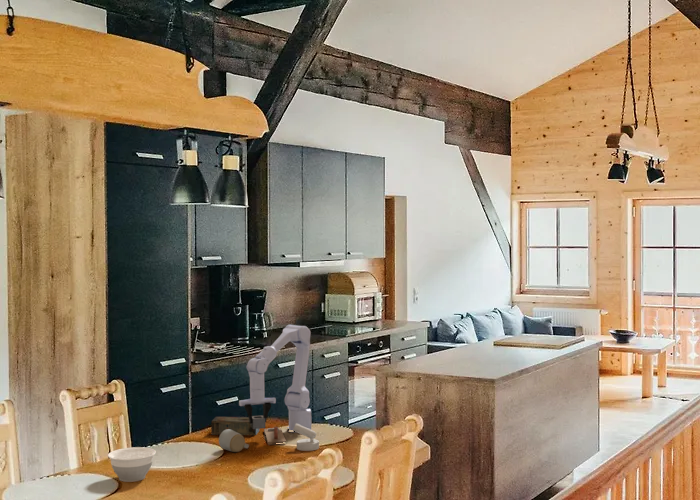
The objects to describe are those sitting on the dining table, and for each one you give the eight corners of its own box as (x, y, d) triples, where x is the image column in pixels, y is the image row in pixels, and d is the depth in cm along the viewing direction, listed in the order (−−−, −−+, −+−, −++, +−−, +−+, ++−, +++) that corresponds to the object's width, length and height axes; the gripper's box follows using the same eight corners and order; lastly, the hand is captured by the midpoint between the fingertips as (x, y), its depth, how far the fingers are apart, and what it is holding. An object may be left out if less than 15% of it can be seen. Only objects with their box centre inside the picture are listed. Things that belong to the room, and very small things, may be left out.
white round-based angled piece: (293, 420, 328) (319, 420, 328) (294, 445, 328) (319, 445, 328) (291, 425, 320) (318, 425, 319) (292, 450, 320) (318, 450, 320)
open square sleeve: (262, 425, 339) (262, 415, 339) (265, 428, 334) (265, 418, 334) (250, 426, 337) (250, 416, 337) (253, 429, 332) (253, 418, 332)
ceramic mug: (230, 454, 315) (230, 434, 315) (218, 450, 321) (218, 430, 321) (253, 450, 322) (253, 430, 322) (241, 446, 328) (241, 426, 328)
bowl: (137, 468, 298) (137, 444, 297) (165, 476, 288) (165, 451, 287) (98, 479, 285) (98, 454, 285) (126, 488, 275) (126, 462, 275)
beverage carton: (256, 436, 344) (256, 420, 344) (210, 435, 346) (210, 419, 345) (260, 431, 352) (259, 415, 352) (214, 431, 354) (214, 415, 353)
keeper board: (280, 431, 351) (280, 417, 351) (286, 444, 330) (285, 429, 330) (264, 431, 350) (263, 418, 350) (268, 445, 328) (268, 430, 328)
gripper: (272, 385, 341) (273, 418, 342) (237, 388, 337) (237, 421, 337) (276, 388, 335) (277, 422, 335) (240, 391, 330) (241, 425, 330)
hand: (257, 422), depth 336 cm, fingers closed on open square sleeve, 5 cm apart
